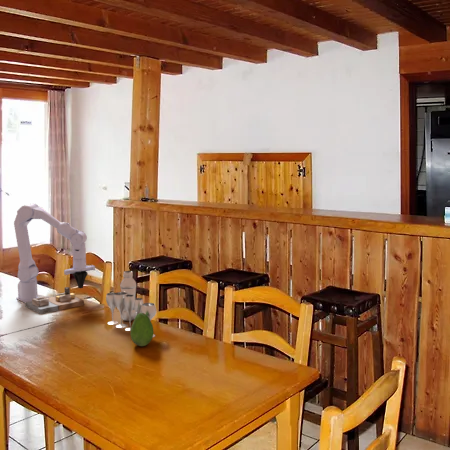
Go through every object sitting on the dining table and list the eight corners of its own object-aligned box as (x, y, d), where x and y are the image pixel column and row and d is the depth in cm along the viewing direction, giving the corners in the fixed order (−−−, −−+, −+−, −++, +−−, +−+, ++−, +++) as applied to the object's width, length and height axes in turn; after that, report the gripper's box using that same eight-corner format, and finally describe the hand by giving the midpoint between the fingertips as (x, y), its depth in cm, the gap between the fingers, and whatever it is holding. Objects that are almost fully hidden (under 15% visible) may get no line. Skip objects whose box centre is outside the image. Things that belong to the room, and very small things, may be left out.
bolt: (72, 296, 250) (71, 286, 249) (74, 297, 248) (74, 287, 248) (55, 300, 245) (55, 289, 244) (58, 301, 243) (57, 290, 242)
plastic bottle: (139, 317, 225) (138, 270, 223) (134, 323, 219) (133, 273, 216) (123, 317, 226) (122, 269, 223) (119, 322, 219) (117, 273, 217)
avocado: (143, 351, 188) (142, 317, 186) (126, 346, 192) (125, 313, 191) (158, 344, 195) (157, 311, 193) (141, 340, 199) (140, 308, 197)
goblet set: (103, 323, 219) (102, 290, 217) (115, 320, 223) (114, 288, 221) (147, 339, 200) (146, 304, 198) (159, 336, 204) (159, 301, 202)
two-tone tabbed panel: (67, 298, 256) (67, 289, 255) (84, 304, 245) (83, 295, 244) (25, 306, 242) (24, 297, 241) (40, 314, 231) (39, 303, 230)
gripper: (68, 261, 242) (70, 292, 243) (98, 257, 251) (99, 286, 253) (61, 259, 247) (62, 289, 248) (90, 255, 257) (91, 283, 258)
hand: (80, 287), depth 251 cm, fingers closed
